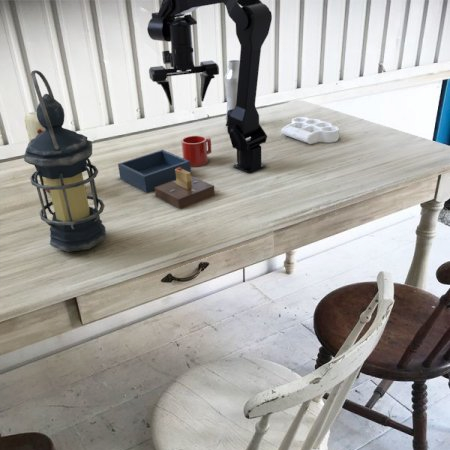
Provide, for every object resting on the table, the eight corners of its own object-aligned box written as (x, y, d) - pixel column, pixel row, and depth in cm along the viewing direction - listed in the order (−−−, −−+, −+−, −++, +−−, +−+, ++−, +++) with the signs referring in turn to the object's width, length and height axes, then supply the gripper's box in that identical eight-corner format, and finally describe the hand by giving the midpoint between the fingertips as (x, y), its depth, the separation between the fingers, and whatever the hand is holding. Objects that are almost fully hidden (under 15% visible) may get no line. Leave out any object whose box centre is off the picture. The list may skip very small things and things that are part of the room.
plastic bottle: (246, 128, 172) (245, 63, 160) (225, 129, 172) (223, 63, 160) (246, 122, 177) (245, 58, 165) (226, 123, 177) (223, 59, 166)
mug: (193, 168, 145) (191, 145, 141) (178, 162, 149) (176, 139, 146) (218, 159, 150) (217, 137, 146) (204, 153, 154) (202, 131, 150)
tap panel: (214, 195, 130) (214, 185, 129) (179, 209, 125) (178, 198, 123) (190, 183, 137) (189, 174, 135) (155, 196, 131) (154, 186, 129)
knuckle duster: (274, 134, 166) (307, 124, 173) (314, 148, 154) (348, 137, 161) (274, 123, 164) (307, 114, 171) (315, 137, 152) (349, 126, 159)
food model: (35, 189, 138) (15, 111, 126) (58, 181, 141) (41, 105, 129) (51, 200, 131) (31, 120, 120) (75, 192, 135) (58, 113, 123)
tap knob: (192, 188, 128) (190, 171, 126) (187, 189, 127) (186, 173, 125) (181, 182, 131) (179, 166, 128) (176, 184, 130) (175, 168, 128)
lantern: (111, 255, 108) (77, 76, 88) (46, 264, 106) (-4, 83, 86) (110, 224, 119) (79, 59, 99) (50, 231, 118) (7, 65, 97)
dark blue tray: (191, 176, 141) (190, 160, 138) (146, 192, 133) (144, 176, 131) (164, 164, 149) (162, 149, 146) (120, 179, 141) (117, 163, 139)
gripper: (207, 35, 149) (210, 92, 158) (142, 41, 145) (149, 100, 154) (218, 41, 140) (220, 101, 149) (149, 48, 136) (156, 110, 145)
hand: (186, 103), depth 149 cm, fingers open, 9 cm apart
